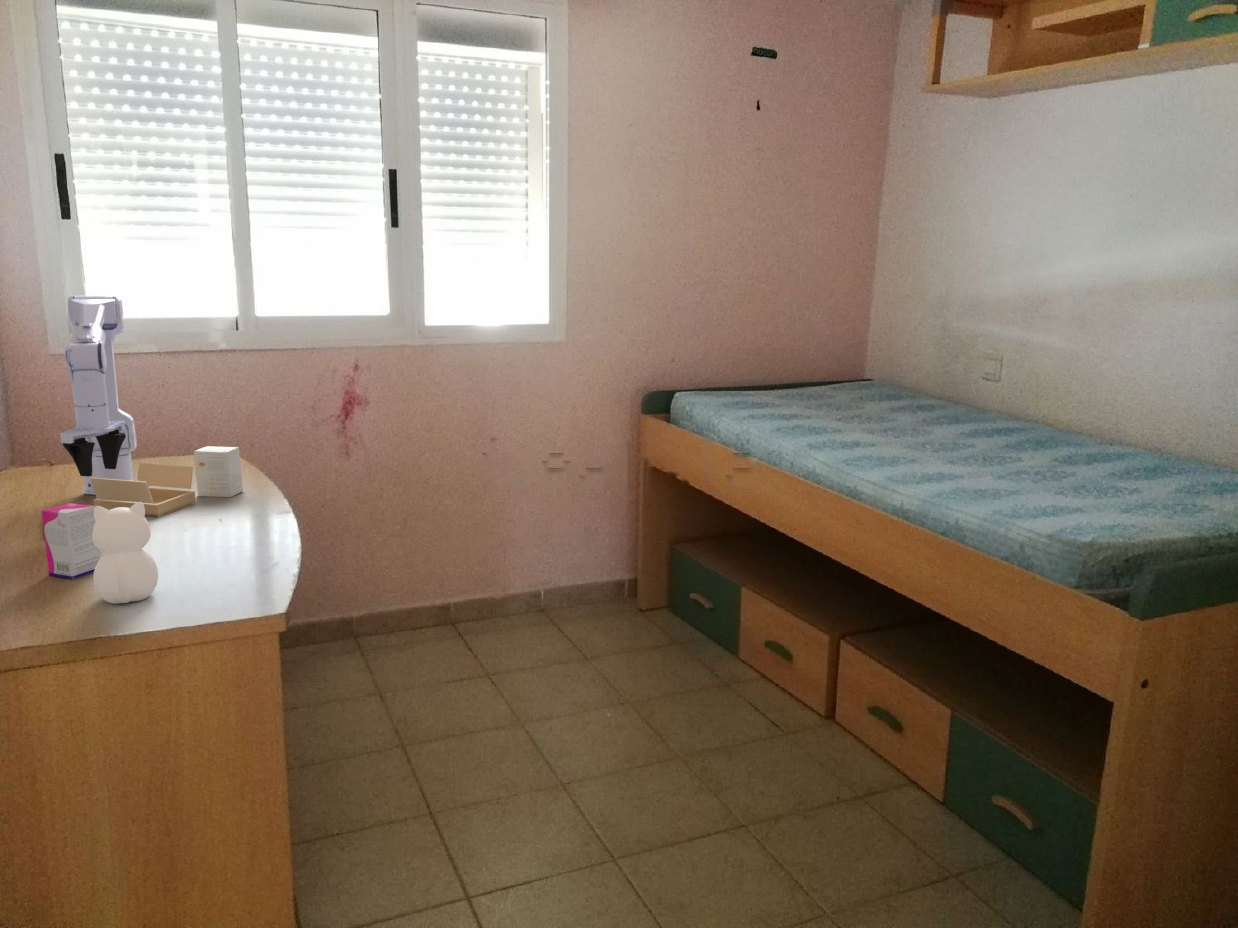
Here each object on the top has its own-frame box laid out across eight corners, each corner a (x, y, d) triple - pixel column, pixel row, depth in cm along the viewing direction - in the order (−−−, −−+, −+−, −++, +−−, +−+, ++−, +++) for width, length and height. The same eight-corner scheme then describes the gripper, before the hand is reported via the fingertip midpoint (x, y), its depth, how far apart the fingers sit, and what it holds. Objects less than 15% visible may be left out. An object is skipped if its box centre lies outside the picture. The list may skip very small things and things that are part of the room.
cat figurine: (158, 582, 150) (149, 495, 147) (162, 606, 139) (152, 512, 136) (96, 591, 146) (86, 501, 143) (95, 616, 135) (83, 520, 132)
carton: (94, 511, 189) (93, 499, 188) (135, 497, 200) (134, 486, 200) (158, 517, 186) (157, 505, 185) (195, 502, 197) (194, 491, 197)
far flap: (138, 463, 199) (140, 463, 200) (136, 484, 199) (138, 484, 200) (191, 466, 197) (192, 466, 197) (189, 488, 197) (191, 488, 197)
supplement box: (103, 569, 155) (96, 505, 153) (73, 580, 150) (65, 513, 147) (78, 564, 157) (70, 501, 155) (47, 575, 152) (38, 510, 149)
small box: (243, 491, 207) (240, 446, 205) (231, 497, 202) (227, 451, 200) (210, 490, 208) (206, 445, 206) (197, 496, 203) (193, 450, 200)
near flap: (98, 497, 188) (96, 498, 188) (91, 477, 186) (89, 478, 186) (153, 501, 186) (152, 502, 185) (147, 481, 184) (145, 482, 183)
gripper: (79, 411, 169) (87, 482, 172) (135, 400, 183) (142, 465, 186) (47, 409, 170) (56, 479, 173) (105, 398, 184) (112, 463, 187)
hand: (98, 472), depth 179 cm, fingers open, 6 cm apart
